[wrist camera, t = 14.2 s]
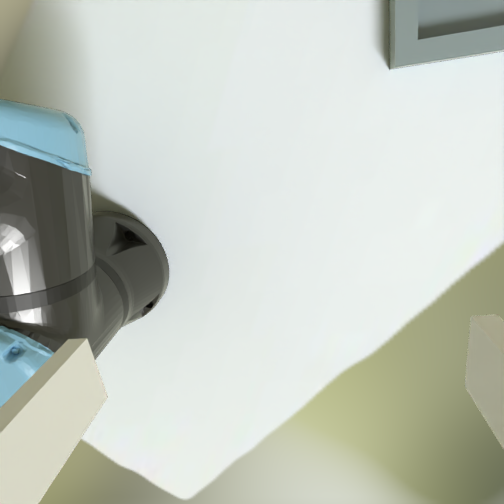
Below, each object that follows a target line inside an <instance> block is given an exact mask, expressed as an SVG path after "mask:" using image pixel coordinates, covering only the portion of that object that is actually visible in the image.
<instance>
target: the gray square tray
mask: <svg viewBox="0 0 504 504" xmlns="http://www.w3.org/2000/svg"><path fill="white" fill-rule="evenodd" d="M389 32H390V70H391V69H397V68H403V67H410V66H416V65H422V64H428V63H435V62H441V61H447V60H453V59H460V58H466V57H472V56H478V55H485V54H491V53H497V52H504V0H389Z"/></svg>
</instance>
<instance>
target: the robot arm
mask: <svg viewBox="0 0 504 504" xmlns="http://www.w3.org/2000/svg"><path fill="white" fill-rule="evenodd" d="M90 175H92V172H91V169H90V168H89V167H88V160H87V153H86V145H85V137H84V132H83V130H82V128H81V126H80V124H79V123H78V122H77V120H76V119H74V118H73V117H72V116H71V115H69V114H67V113H65V112H63V111H59V110H55V109H50V108H45V107H40V106H35V105H30V104H24V103H19V102H14V101H8V100H3V99H0V504H38V503H39V502H40V500H41V499H42V497H43V496H44V494H45V493H46V491H47V490H48V488H49V486H50V485H51V483H52V482H53V480H54V479H55V477H56V476H57V474H58V473H59V471H60V470H61V468H62V467H63V465H64V463H65V462H66V460H67V459H68V457H69V456H70V454H71V453H72V451H73V450H74V448H75V447H76V445H77V444H78V442H79V440H80V439H81V437H82V436H83V434H84V433H85V431H86V430H87V428H88V427H89V425H90V424H91V422H92V421H93V419H94V418H95V416H96V415H97V413H98V411H99V410H100V408H101V407H102V405H103V404H104V402H105V401H106V399H107V398H108V396H107V393H106V390H105V387H104V384H103V382H102V379H101V376H100V373H99V370H98V367H97V365H96V362H95V360H96V358H97V357H98V356H99V354H100V353H101V352H102V351H103V349H104V348H105V347H106V346H107V344H108V343H109V342H110V341H111V339H112V338H113V337H114V336H115V334H116V333H117V332H118V330H119V329H120V328H121V327H123V326H125V325H127V324H129V323H131V322H133V321H135V320H137V319H139V318H141V317H143V316H145V315H146V314H147V313H149V312H150V311H151V310H152V309H153V308H154V307H155V306H156V305H157V303H158V302H159V300H160V299H161V298H162V296H163V295H164V293H165V291H166V288H167V285H168V281H169V265H168V260H167V257H166V254H165V252H164V249H163V248H162V246H161V244H160V242H159V241H158V240H157V238H156V237H155V236H154V234H153V233H152V232H151V231H150V230H149V229H148V228H146V227H145V226H144V225H143V224H141V223H140V222H138V221H137V220H135V219H133V218H131V217H129V216H126V215H124V214H120V213H116V212H110V211H99V212H93V213H92V203H91V187H90ZM465 388H466V389H467V390H468V392H469V394H470V396H471V397H472V399H473V401H474V402H475V404H476V405H477V407H478V409H479V410H480V412H481V413H482V415H483V416H484V418H485V420H486V422H487V423H488V425H489V426H490V428H491V430H492V431H493V433H494V435H495V436H496V438H497V439H498V441H499V443H500V444H501V446H502V448H503V449H504V321H503V320H502V319H501V318H500V317H499V316H498V315H481V316H471V319H470V331H469V343H468V355H467V366H466V378H465Z"/></svg>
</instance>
